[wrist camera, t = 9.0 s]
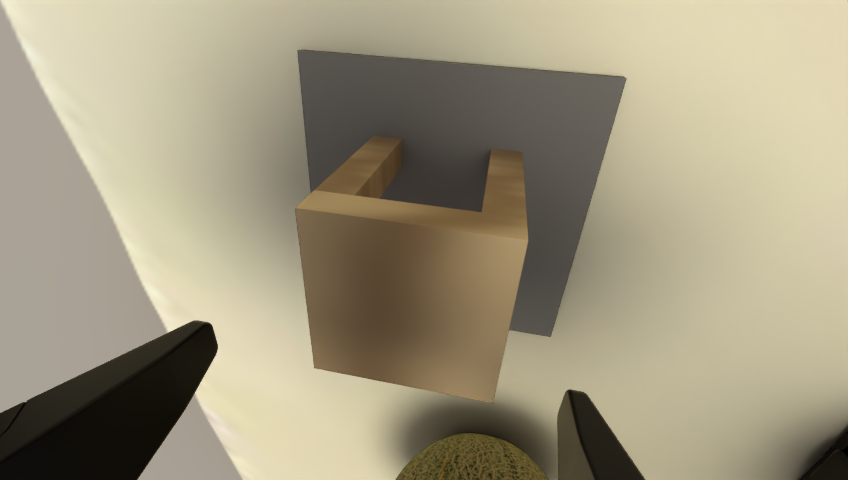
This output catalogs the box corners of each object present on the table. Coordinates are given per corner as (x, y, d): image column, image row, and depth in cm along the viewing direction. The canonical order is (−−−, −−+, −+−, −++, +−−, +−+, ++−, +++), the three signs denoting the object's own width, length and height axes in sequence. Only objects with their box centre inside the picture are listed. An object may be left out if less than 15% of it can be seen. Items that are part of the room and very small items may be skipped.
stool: (522, 152, 16) (528, 240, 10) (499, 277, 19) (493, 403, 13) (373, 135, 16) (295, 207, 10) (374, 258, 19) (314, 368, 14)
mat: (623, 76, 14) (626, 78, 14) (550, 331, 20) (550, 336, 20) (302, 49, 16) (297, 50, 15) (323, 292, 22) (320, 297, 21)
